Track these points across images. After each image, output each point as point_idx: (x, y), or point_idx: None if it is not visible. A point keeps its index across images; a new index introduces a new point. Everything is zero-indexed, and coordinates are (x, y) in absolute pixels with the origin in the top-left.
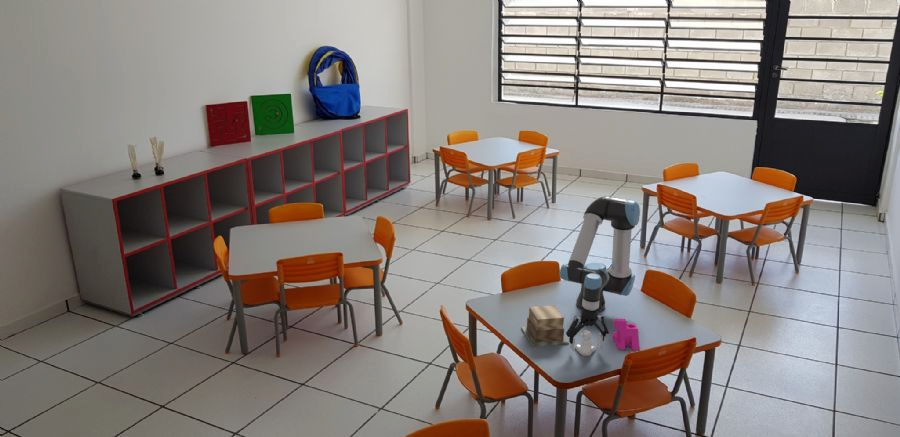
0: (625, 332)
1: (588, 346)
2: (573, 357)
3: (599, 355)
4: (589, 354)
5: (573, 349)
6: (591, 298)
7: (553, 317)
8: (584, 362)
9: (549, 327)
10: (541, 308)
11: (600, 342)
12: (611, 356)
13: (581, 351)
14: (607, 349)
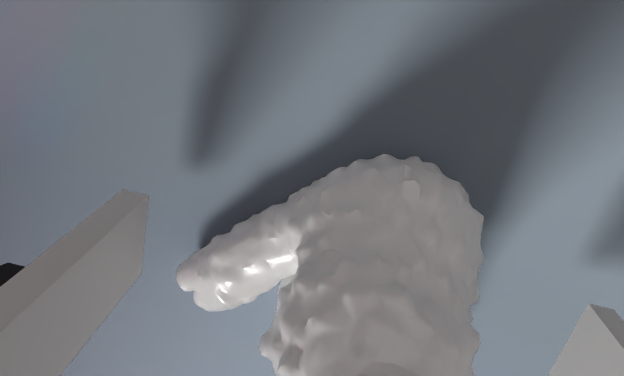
0: None
1: (388, 251)
2: (589, 218)
3: (210, 120)
4: (369, 161)
5: (608, 318)
6: None
7: None
8: (550, 38)
9: None
10: None
11: (91, 256)
12: (52, 26)
13: (479, 245)
14: (32, 202)
